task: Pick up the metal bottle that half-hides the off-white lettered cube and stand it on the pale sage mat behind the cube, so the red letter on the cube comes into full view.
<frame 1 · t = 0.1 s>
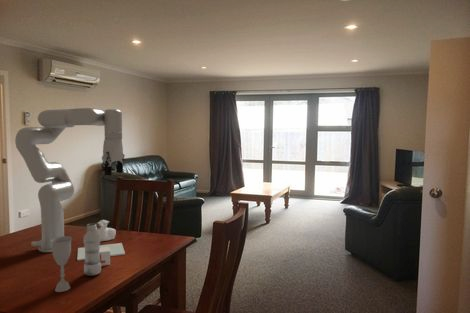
hand: (114, 173, 153), 37 cm above the table, tool pointing down, fingers open, 9 cm apart
metal bottle: (92, 274, 132), on the table
lettered cube: (102, 263, 143), on the table
chalice: (62, 289, 119), on the table
sage mat: (101, 251, 157), on the table
bust: (103, 240, 175), on the table
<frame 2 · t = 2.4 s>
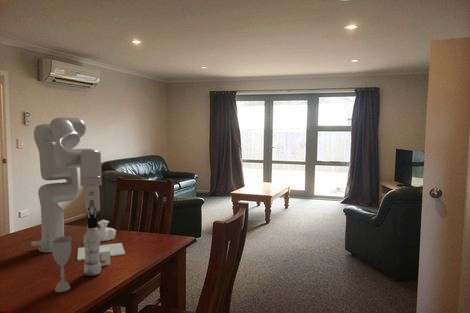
hand: (92, 224, 130), 20 cm above the table, tool pointing down, fingers open, 9 cm apart
nothing on the table moved.
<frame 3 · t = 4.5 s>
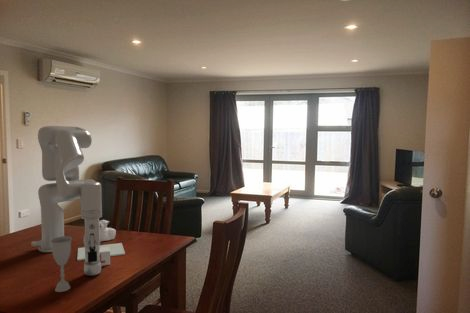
hand: (92, 258, 131), 7 cm above the table, tool pointing down, fingers closed on metal bottle, 5 cm apart
metal bottle: (92, 274, 132), on the table, touching gripper
everything else where it was.
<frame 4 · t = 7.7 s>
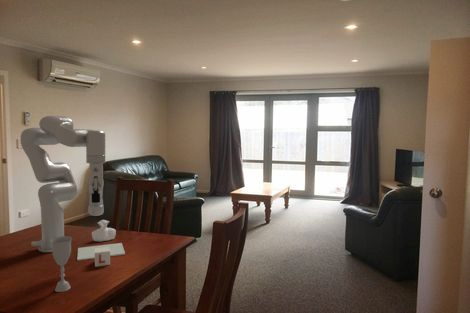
hand: (95, 200, 144), 27 cm above the table, tool pointing down, fingers closed on metal bottle, 5 cm apart
metal bottle: (95, 215, 144), point 20 cm above the table, touching gripper
everything else where it was.
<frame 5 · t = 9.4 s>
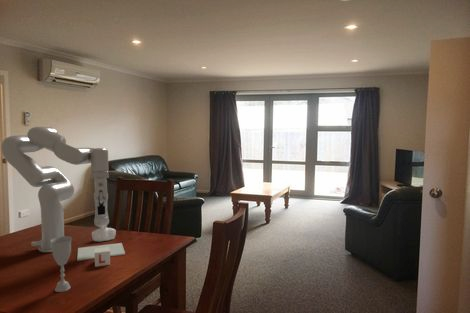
hand: (101, 212, 156), 19 cm above the table, tool pointing down, fingers closed on metal bottle, 5 cm apart
metal bottle: (101, 226, 156), point 12 cm above the table, touching gripper
everything else where it was.
when the fingers open (8 cm above the table, at t = 11.1 s): metal bottle drops 1 cm, resting on sage mat.
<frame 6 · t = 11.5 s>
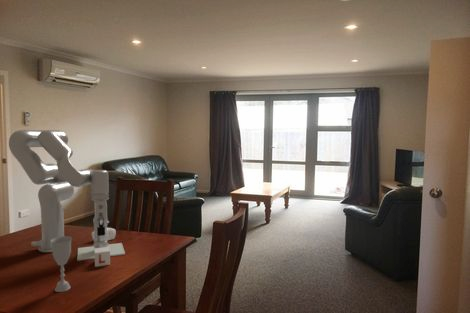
hand: (100, 232, 156), 9 cm above the table, tool pointing down, fingers open, 9 cm apart
metal bottle: (101, 250, 157), resting on sage mat
everything else where it was.
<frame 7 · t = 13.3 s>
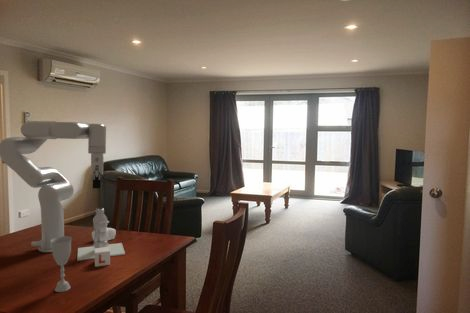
hand: (96, 186, 156), 31 cm above the table, tool pointing down, fingers open, 9 cm apart
nothing on the table moved.
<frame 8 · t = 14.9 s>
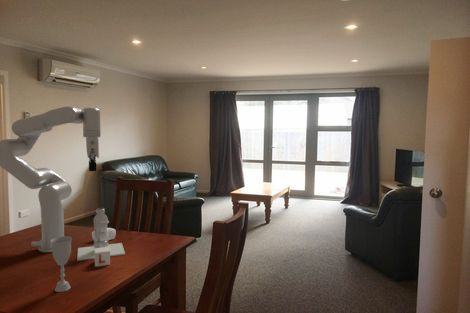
hand: (92, 170, 159), 38 cm above the table, tool pointing down, fingers open, 9 cm apart
nothing on the table moved.
at the end: metal bottle inside the target area (0.1 cm from its centre), resting on sage mat; metal bottle tilted 0°; lettered cube moved 0.1 cm from its start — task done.
